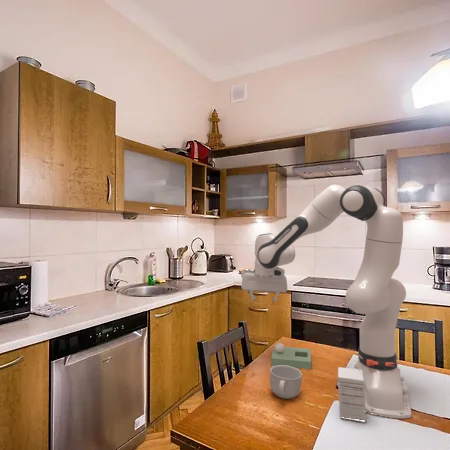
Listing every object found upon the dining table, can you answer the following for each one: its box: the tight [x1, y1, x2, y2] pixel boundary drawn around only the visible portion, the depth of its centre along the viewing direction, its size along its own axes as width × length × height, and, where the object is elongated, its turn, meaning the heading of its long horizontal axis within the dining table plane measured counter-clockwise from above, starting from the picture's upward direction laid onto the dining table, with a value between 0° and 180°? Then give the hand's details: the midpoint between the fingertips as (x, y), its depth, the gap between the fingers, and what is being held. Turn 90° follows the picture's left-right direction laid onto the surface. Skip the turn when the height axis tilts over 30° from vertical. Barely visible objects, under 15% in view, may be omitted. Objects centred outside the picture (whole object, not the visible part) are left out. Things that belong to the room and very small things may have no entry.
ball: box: [274, 342, 285, 353], centre depth 139 cm, size 4×4×4 cm
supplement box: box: [337, 366, 367, 422], centre depth 98 cm, size 7×7×13 cm
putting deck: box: [270, 345, 312, 370], centre depth 138 cm, size 14×16×3 cm
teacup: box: [269, 365, 303, 400], centre depth 109 cm, size 14×11×8 cm
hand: (264, 300), depth 143 cm, fingers open, 8 cm apart
